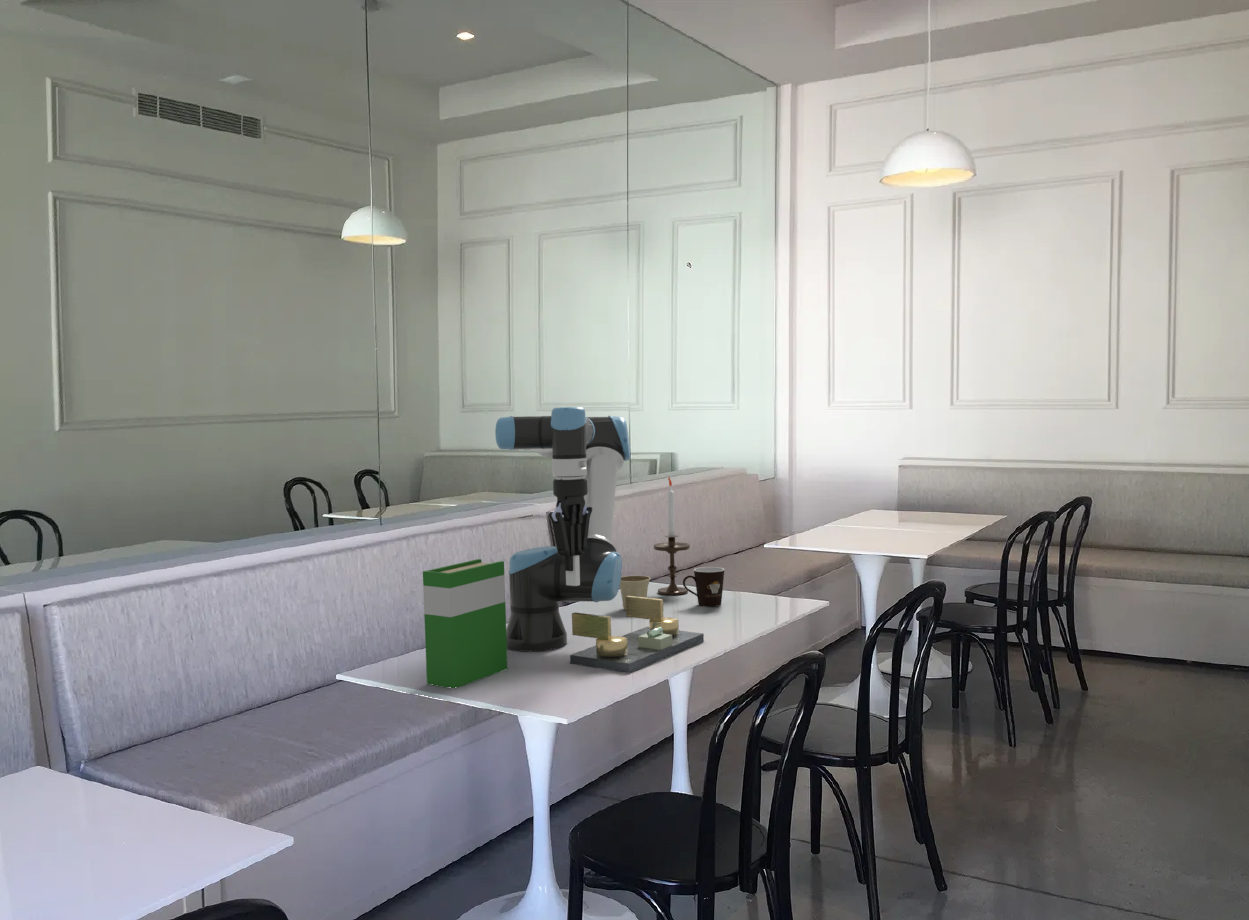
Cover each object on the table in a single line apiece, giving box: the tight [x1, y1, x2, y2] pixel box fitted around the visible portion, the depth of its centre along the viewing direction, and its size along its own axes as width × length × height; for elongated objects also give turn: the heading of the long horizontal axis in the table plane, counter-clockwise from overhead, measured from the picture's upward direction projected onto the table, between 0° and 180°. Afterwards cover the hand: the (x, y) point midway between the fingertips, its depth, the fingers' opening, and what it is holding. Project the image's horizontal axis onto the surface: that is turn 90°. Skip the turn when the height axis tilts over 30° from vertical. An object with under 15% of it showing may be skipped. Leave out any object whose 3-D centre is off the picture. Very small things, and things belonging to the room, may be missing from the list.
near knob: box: [571, 612, 628, 657], centre depth 237 cm, size 14×7×8 cm, turn 56°
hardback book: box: [422, 558, 508, 689], centre depth 227 cm, size 18×7×24 cm, turn 147°
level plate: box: [569, 626, 705, 674], centre depth 244 cm, size 32×16×6 cm, turn 146°
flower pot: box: [619, 575, 651, 611], centre depth 294 cm, size 9×9×9 cm
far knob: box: [625, 596, 680, 636], centre depth 255 cm, size 14×7×8 cm, turn 56°
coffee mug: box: [682, 566, 725, 608], centre depth 297 cm, size 12×9×10 cm
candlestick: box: [653, 476, 691, 597], centre depth 315 cm, size 11×11×35 cm
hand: (573, 584), depth 231 cm, fingers closed
